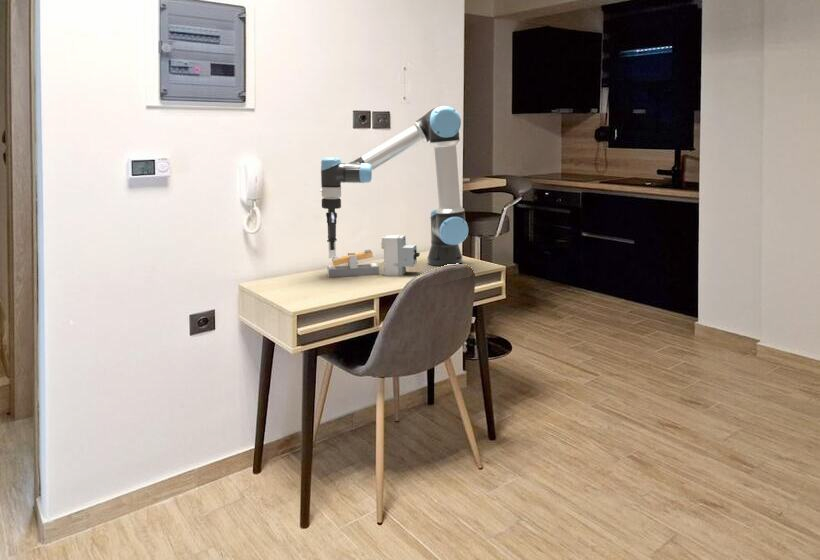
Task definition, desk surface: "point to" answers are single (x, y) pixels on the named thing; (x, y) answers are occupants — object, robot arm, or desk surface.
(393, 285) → the desk surface
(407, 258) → the circuit breaker
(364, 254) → the lever
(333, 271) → the grey block
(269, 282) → the desk surface
